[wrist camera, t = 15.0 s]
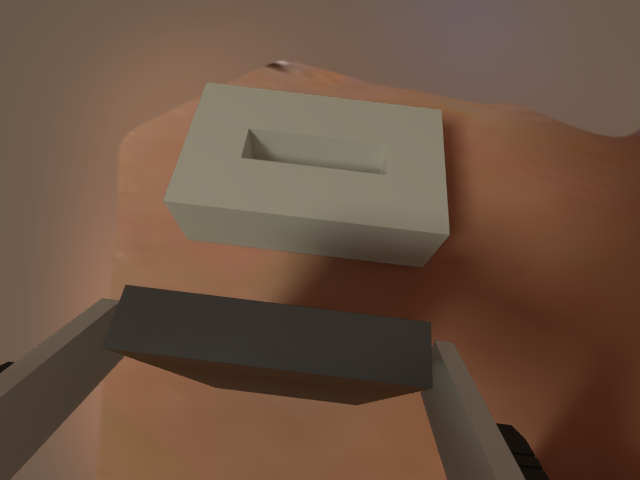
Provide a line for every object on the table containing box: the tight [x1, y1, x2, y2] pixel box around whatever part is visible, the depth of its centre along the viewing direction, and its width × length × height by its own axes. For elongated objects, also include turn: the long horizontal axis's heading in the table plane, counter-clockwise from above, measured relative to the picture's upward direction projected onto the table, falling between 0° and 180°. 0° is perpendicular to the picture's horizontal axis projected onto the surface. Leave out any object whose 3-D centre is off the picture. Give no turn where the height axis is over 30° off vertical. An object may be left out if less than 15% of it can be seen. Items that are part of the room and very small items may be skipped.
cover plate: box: [102, 285, 433, 405], centre depth 18 cm, size 10×2×16 cm, turn 84°
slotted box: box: [163, 83, 450, 268], centre depth 30 cm, size 20×12×6 cm, turn 84°
